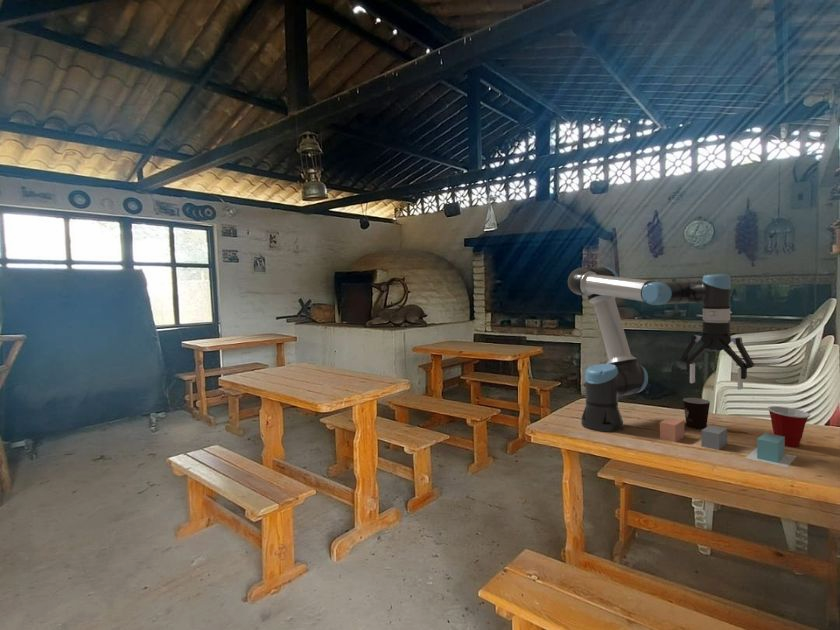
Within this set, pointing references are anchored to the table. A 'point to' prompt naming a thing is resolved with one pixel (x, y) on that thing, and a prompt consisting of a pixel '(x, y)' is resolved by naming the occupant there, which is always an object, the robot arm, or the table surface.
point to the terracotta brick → (672, 429)
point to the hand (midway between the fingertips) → (715, 385)
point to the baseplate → (783, 462)
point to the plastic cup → (788, 424)
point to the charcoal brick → (714, 437)
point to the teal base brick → (770, 447)
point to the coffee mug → (696, 412)
